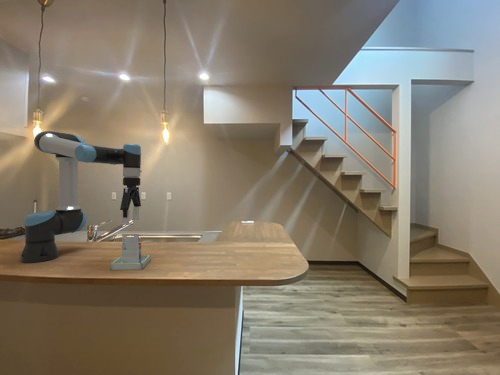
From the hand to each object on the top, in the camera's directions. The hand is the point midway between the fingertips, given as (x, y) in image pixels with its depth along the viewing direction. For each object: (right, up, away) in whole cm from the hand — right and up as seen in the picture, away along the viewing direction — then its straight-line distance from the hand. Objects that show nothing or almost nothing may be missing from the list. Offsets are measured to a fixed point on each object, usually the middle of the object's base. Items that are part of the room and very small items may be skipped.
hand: (131, 222), depth 125 cm
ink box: (0, -20, 0) cm, 20 cm away
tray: (0, -21, 0) cm, 21 cm away
